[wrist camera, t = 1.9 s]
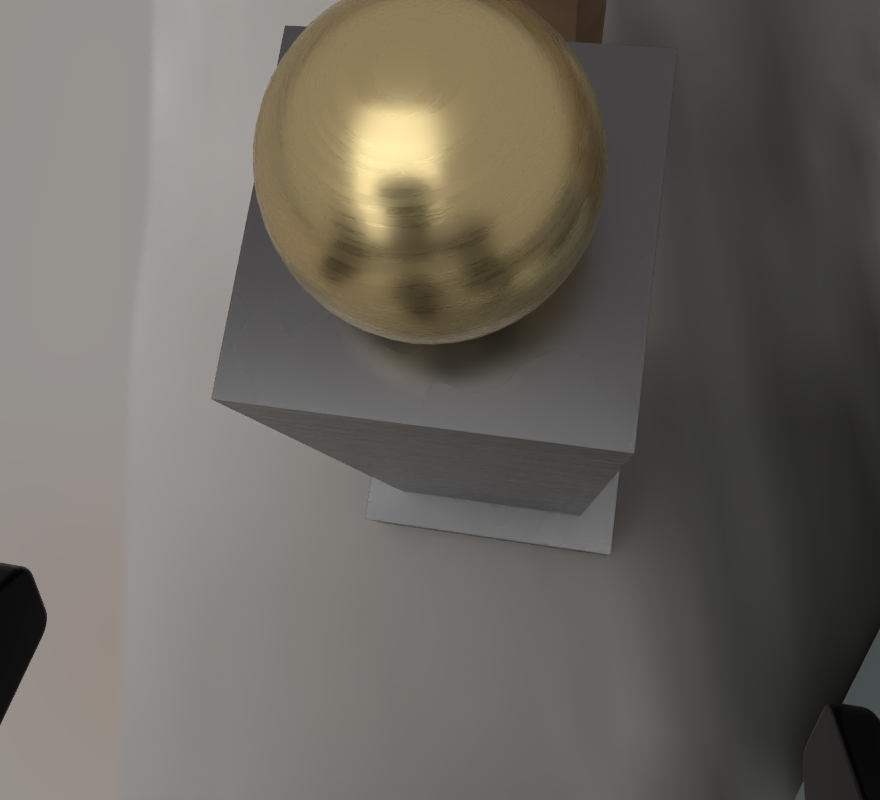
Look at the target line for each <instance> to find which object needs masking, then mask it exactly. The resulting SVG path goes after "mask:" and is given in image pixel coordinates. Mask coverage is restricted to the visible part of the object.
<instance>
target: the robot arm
mask: <svg viewBox="0 0 880 800" xmlns="http://www.w3.org/2000/svg"><path fill="white" fill-rule="evenodd" d="M46 622H47V613H46V609H45V607H44V604H43V601H42V599H41V596H40V593H39V591H38V588H37V585H36V583H35V580H34V577H33V575H32V573H31V572H30V570H28V569H27V568H26V567H23V566H17V565H11V564H5V563H0V724H1V722H2V720H3V718H4V716H5V714H6V711H7V710H8V708H9V705H10V703H11V701H12V699H13V697H14V695H15V693H16V691H17V689H18V686H19V684H20V682H21V680H22V678H23V676H24V674H25V671H26V670H27V667H28V665H29V663H30V661H31V659H32V657H33V655H34V653H35V650H36V649H37V646H38V644H39V642H40V640H41V638H42V636H43V633H44V631H45V627H46ZM803 779H804V795H805V800H880V719H879V718H878V716H877V715H876V714H875V713H874V712H872V711H871V710H869V709H868V708H865V707H861V706H855V705H849V704H843V703H837V702H831V703H828V704H827V705H826V706H825V707H824V708H823V710H822V712H821V714H820V716H819V719H818V721H817V723H816V725H815V727H814V729H813V732H812V734H811V736H810V738H809V740H808V742H807V745H806V747H805V751H804V757H803Z"/></svg>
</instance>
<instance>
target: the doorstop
mask: <svg viewBox="0 0 880 800" xmlns="http://www.w3.org/2000/svg"><path fill="white" fill-rule="evenodd" d="M677 49H678V48H668V47H650V46H633V45H615V44H598V43H580V42H566V41H565V40H564V38H563V37H562V36H561V35H560V33H558V32H557V31H556V30H555V29H554V28H553V27H552V26H551V25H550V24H549V23H548V22H547V21H546V20H545V19H544V18H542V17H541V16H540V15H539V14H538V13H537V12H535V11H534V10H532V9H531V8H530V7H528V6H527V5H525V4H524V3H523V2H521V1H520V0H340V1H339V2H337V3H336V4H334V5H333V6H331V7H330V8H328V9H327V10H326V11H324V12H323V13H322V14H321V15H320V16H318V17H317V18H316V19H315V20H314V21H312V22H311V23H310V24H309V25H308V27H300V26H285V29H284V34H283V39H282V44H281V49H280V54H279V59H278V64H277V68H276V70H275V71H274V73H273V75H272V77H271V79H270V82H269V84H268V87H267V89H266V91H265V94H264V97H263V101H262V104H261V108H260V112H259V115H258V119H257V123H256V129H255V136H254V144H253V169H254V186H253V191H252V196H251V201H250V206H249V211H248V216H247V221H246V226H245V231H244V236H243V241H242V246H241V251H240V256H239V261H238V266H237V271H236V276H235V281H234V287H233V292H232V297H231V302H230V307H229V312H228V317H227V322H226V327H225V332H224V337H223V342H222V347H221V352H220V357H219V362H218V367H217V372H216V377H215V382H214V388H213V393H212V398H211V399H212V400H214V401H216V402H218V403H220V404H223V405H225V406H227V407H229V408H231V409H233V410H235V411H237V412H239V413H241V414H243V415H245V416H247V417H249V418H252V419H254V420H256V421H258V422H260V423H262V424H264V425H266V426H268V427H270V428H272V429H274V430H276V431H278V432H280V433H283V434H285V435H287V436H289V437H291V438H293V439H295V440H297V441H299V442H301V443H303V444H305V445H307V446H309V447H312V448H314V449H316V450H318V451H320V452H322V453H324V454H326V455H328V456H330V457H332V458H334V459H336V460H338V461H341V462H343V463H345V464H347V465H349V466H351V467H353V468H355V469H357V470H359V471H361V472H363V473H365V474H367V475H369V476H372V478H371V485H370V491H369V497H368V503H367V509H366V516H365V519H369V520H373V521H378V522H383V523H389V524H396V525H403V526H410V527H417V528H423V529H430V530H437V531H444V532H451V533H457V534H464V535H471V536H478V537H485V538H491V539H498V540H505V541H512V542H519V543H525V544H532V545H539V546H546V547H553V548H559V549H566V550H573V551H580V552H587V553H594V554H600V555H610V553H611V544H612V535H613V526H614V517H615V508H616V498H617V489H618V480H619V471H620V469H621V468H622V467H623V466H624V465H625V464H626V462H627V461H628V460H629V459H630V458H631V457H632V455H633V454H634V451H635V442H636V432H637V423H638V414H639V404H640V395H641V386H642V376H643V367H644V358H645V348H646V339H647V330H648V320H649V311H650V301H651V292H652V283H653V273H654V264H655V255H656V245H657V236H658V227H659V217H660V208H661V199H662V189H663V180H664V170H665V161H666V152H667V142H668V133H669V124H670V114H671V105H672V96H673V86H674V77H675V68H676V58H677Z"/></svg>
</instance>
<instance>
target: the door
mask: <svg viewBox="0 0 880 800" xmlns="http://www.w3.org/2000/svg"><path fill="white" fill-rule="evenodd" d="M843 704H849V705H855V706H861V707H865V708H868V709H869V710H871V711H872V712H874V713H875V714H876V715H877V716H878V718H879V719H880V629H879V631H878V633H877V635H876V637H875V639H874V641H873V643H872V645H871V647H870V649H869V651H868V653H867V655H866V657H865V659H864V661H863V663H862V665H861V667H860V669H859V671H858V673H857V675H856V677H855V679H854V681H853V683H852V685H851V687H850V689H849V691H848V693H847V695H846V697H845V699H844V701H843ZM794 800H805V795H804V781H803V783H802V785H801V787H800V789H799V791H798V793H797V795H796V797H795V799H794Z"/></svg>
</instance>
